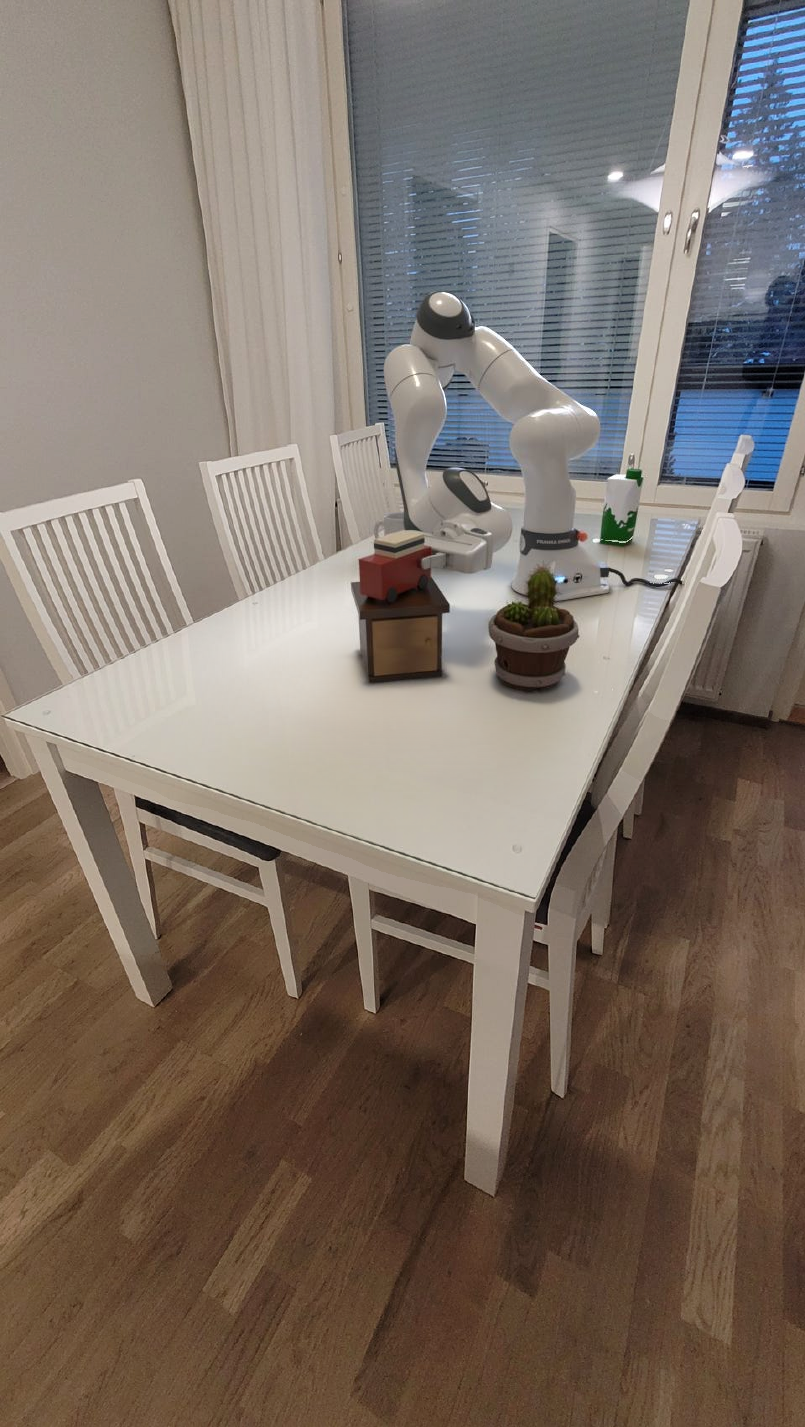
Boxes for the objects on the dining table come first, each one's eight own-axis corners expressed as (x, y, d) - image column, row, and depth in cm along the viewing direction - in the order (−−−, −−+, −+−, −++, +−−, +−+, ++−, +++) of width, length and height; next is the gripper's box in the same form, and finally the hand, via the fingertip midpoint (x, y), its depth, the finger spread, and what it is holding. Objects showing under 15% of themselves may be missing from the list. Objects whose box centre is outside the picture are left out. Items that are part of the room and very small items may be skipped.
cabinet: (430, 643, 125) (431, 576, 119) (449, 679, 112) (450, 605, 105) (354, 650, 123) (350, 582, 117) (363, 687, 110) (359, 612, 103)
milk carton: (626, 547, 181) (637, 473, 171) (595, 543, 186) (604, 470, 176) (636, 540, 187) (648, 468, 177) (606, 536, 192) (616, 465, 182)
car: (408, 580, 117) (407, 527, 112) (431, 585, 114) (432, 532, 109) (359, 599, 109) (356, 543, 104) (383, 606, 105) (381, 549, 101)
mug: (420, 553, 179) (420, 513, 174) (407, 561, 173) (407, 520, 167) (382, 549, 184) (380, 510, 178) (368, 557, 177) (366, 516, 172)
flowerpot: (555, 707, 103) (570, 586, 93) (470, 685, 110) (474, 571, 100) (585, 672, 113) (600, 561, 103) (505, 654, 120) (512, 548, 110)
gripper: (410, 518, 124) (361, 532, 115) (500, 535, 112) (453, 552, 103) (410, 551, 127) (362, 567, 118) (498, 570, 115) (452, 590, 106)
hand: (406, 560), depth 110 cm, fingers closed on car, 5 cm apart
